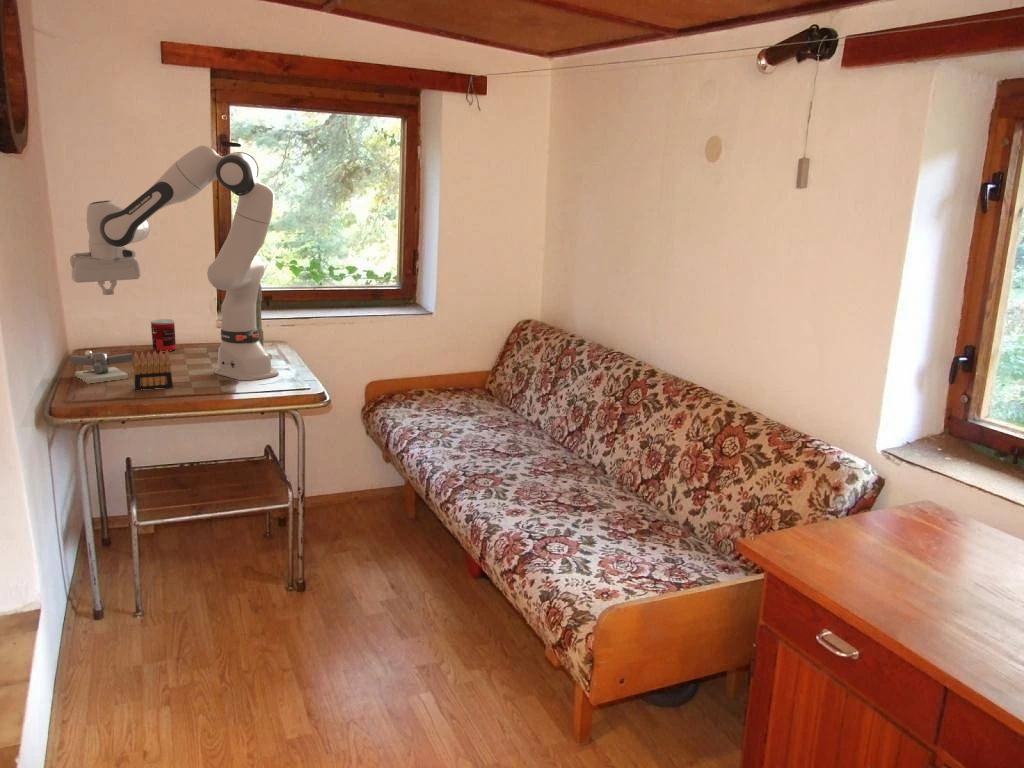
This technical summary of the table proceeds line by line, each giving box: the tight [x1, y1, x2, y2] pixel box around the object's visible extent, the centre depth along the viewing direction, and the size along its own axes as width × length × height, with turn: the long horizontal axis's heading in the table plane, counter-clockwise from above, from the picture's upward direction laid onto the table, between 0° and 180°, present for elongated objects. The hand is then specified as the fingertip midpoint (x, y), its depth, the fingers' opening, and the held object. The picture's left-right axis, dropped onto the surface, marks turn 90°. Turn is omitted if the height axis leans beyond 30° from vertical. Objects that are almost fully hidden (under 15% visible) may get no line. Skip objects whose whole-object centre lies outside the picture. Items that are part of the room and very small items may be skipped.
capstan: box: [69, 349, 134, 374], centre depth 260 cm, size 16×18×7 cm
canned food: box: [150, 318, 177, 352], centre depth 300 cm, size 8×8×11 cm
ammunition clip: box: [133, 350, 174, 391], centre depth 249 cm, size 11×2×12 cm, turn 118°
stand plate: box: [75, 366, 129, 384], centre depth 260 cm, size 12×12×2 cm
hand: (108, 294), depth 265 cm, fingers closed
